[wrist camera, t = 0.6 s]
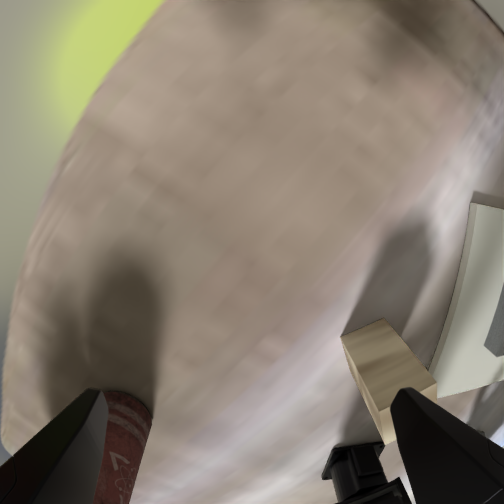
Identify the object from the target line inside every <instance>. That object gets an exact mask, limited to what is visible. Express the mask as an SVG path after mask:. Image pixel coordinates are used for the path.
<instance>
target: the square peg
mask: <svg viewBox="0 0 504 504" xmlns="http://www.w3.org/2000/svg"><path fill="white" fill-rule="evenodd" d="M340 338H341V341H342V345H343V348H344V351H345V355H346V358H347V362H348V365H349V368H350V372H351V374H352V376H353V378H354V380H355V382H356V384H357V386H358V388H359V390H360V392H361V394H362V397H363V399H364V401H365V403H366V405H367V407H368V409H369V411H370V414H371V416H372V418H373V420H374V422H375V424H376V426H377V429H378V431H379V433H380V435H381V437H382V440H383V442H384V444H385V445H386V444H388V443H390V442H392V441H395V440H397V439H396V434H395V430H394V426H393V421H392V417H391V413H390V405H391V403H392V401H393V399H394V398H395V396H396V394H397V392H398V391H399V390H400V389H401V388H406V387H412V388H414V389H415V390H417V391H418V392H420V393H421V394H423V395H424V396H426V397H427V398H428V399H430V400H431V401H433V402H434V403H436V404H437V382H436V381H435V379H434V378H433V377H432V376H431V374H430V373H429V372H428V371H427V369H426V368H425V367H424V366H423V364H422V363H421V362H420V361H419V359H418V358H417V357H416V356H415V355H414V353H413V352H412V351H411V350H410V348H409V347H408V346H407V345H406V344H405V342H404V341H403V340H402V339H401V338H400V336H399V335H398V334H397V333H396V332H395V330H394V329H393V328H392V327H391V326H390V324H389V323H388V322H387V321H386V320H385V319H384V318H383V319H381V320H378V321H376V322H374V323H372V324H370V325H367V326H365V327H363V328H360V329H358V330H356V331H353V332H351V333H349V334H346V335H344V336H342V337H340Z"/></svg>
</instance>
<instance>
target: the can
mask: <svg viewBox="0 0 504 504" xmlns="http://www.w3.org/2000/svg"><path fill="white" fill-rule="evenodd" d="M103 394H104V397H105V400H106V403H107V406H108V420H107V427H106V435H105V443H104V452H103V458H102V463H101V467H100V472H99V476H98V481H97V485H96V490H95V495H94V500H93V504H129V502H130V499H131V495H132V491H133V488H134V484H135V480H136V477H137V473H138V470H139V466H140V463H141V459H142V456H143V453H144V449H145V446H146V442H147V439H148V436H149V432H150V429H151V426H152V419H151V417H150V414H149V412H148V410H147V408H146V407H145V406H144V405H143V404H142V403H141V402H140V401H139V400H137V399H136V398H135V397H133V396H131V395H129V394H126V393H123V392H119V391H108V392H105V393H103Z"/></svg>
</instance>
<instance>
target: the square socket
mask: <svg viewBox="0 0 504 504" xmlns="http://www.w3.org/2000/svg"><path fill="white" fill-rule="evenodd" d="M483 346H485V347H486V348H487V349H488V350H489V351H490V352H491V353H492V354H494V355H495V356H496V357H500V356H504V284H503V287H502V291H501V295H500V298H499V301H498V305H497V308H496V311H495V314H494V317H493V320H492V323H491V326H490V329H489V332H488V335H487V337H486V340H485V343H484V345H483Z"/></svg>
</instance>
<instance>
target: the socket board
mask: <svg viewBox="0 0 504 504" xmlns="http://www.w3.org/2000/svg"><path fill="white" fill-rule="evenodd" d="M503 284H504V209H500V208H495V207H491V206H486V205H481V204H476V203H471V202H470V210H469V217H468V224H467V231H466V237H465V242H464V248H463V253H462V258H461V263H460V267H459V272H458V276H457V280H456V285H455V289H454V292H453V296H452V300H451V304H450V307H449V311H448V314H447V318H446V321H445V324H444V327H443V330H442V333H441V336H440V339H439V342H438V345H437V348H436V351H435V354H434V357H433V359H432V362H431V365H430V367H429V370H428V372H429V373H430V374H431V376H432V377H433V378H434V379H435V381H436V382H437V398H441V397H445V396H449V395H453V394H457V393H461V392H465V391H469V390H472V389H476V388H479V387H483V386H486V385H489V384H492V383H495V382H499V381H502V380H504V356H500V357H496V356H495V355H494V354H492V353H491V352H490V351H489V350H488V349H487V348H486V347H485V346H483V345H484V343H485V340H486V337H487V335H488V332H489V329H490V326H491V323H492V320H493V317H494V314H495V311H496V308H497V305H498V301H499V298H500V295H501V291H502V287H503Z"/></svg>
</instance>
